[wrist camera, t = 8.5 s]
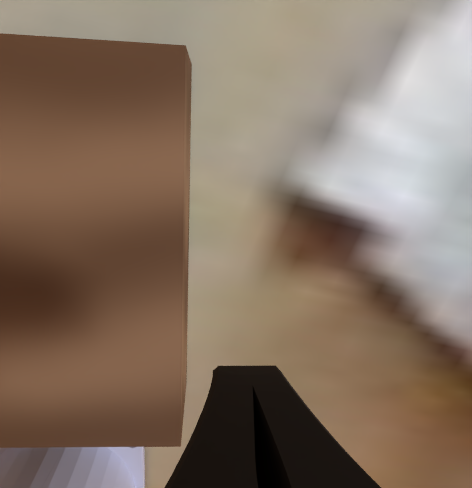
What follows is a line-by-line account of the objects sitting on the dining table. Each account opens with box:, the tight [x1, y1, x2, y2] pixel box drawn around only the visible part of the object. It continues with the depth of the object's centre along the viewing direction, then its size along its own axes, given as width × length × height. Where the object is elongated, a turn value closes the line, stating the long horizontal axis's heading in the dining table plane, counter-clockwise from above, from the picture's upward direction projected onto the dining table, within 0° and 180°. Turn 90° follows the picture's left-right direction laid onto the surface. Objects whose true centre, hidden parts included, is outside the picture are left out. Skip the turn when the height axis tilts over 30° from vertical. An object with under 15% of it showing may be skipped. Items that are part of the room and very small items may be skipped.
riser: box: [0, 34, 192, 448], centre depth 15 cm, size 14×9×4 cm, turn 177°
